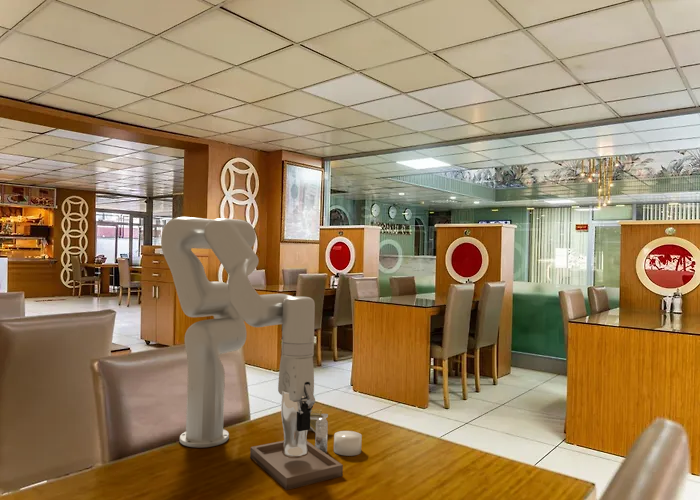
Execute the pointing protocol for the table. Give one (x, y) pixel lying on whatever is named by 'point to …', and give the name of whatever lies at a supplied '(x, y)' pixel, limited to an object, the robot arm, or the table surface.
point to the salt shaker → (321, 434)
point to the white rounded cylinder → (347, 443)
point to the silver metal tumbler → (292, 429)
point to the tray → (296, 465)
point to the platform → (315, 419)
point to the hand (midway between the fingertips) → (295, 424)
